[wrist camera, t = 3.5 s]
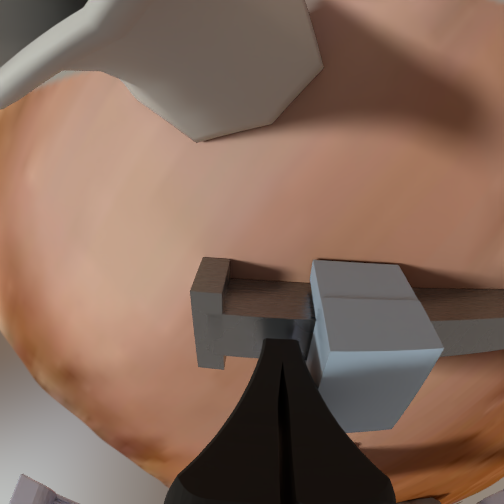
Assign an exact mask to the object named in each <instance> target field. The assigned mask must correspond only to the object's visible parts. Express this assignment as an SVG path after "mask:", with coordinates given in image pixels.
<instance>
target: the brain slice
mask: <svg viewBox="0 0 504 504" xmlns="http://www.w3.org/2000/svg"><path fill="white" fill-rule="evenodd" d="M396 504H441V503H440V501H438V500H435V499H434V498H432V497H431V498H424V499H416V500H411V501H404V502H399V503H396Z"/></svg>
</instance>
